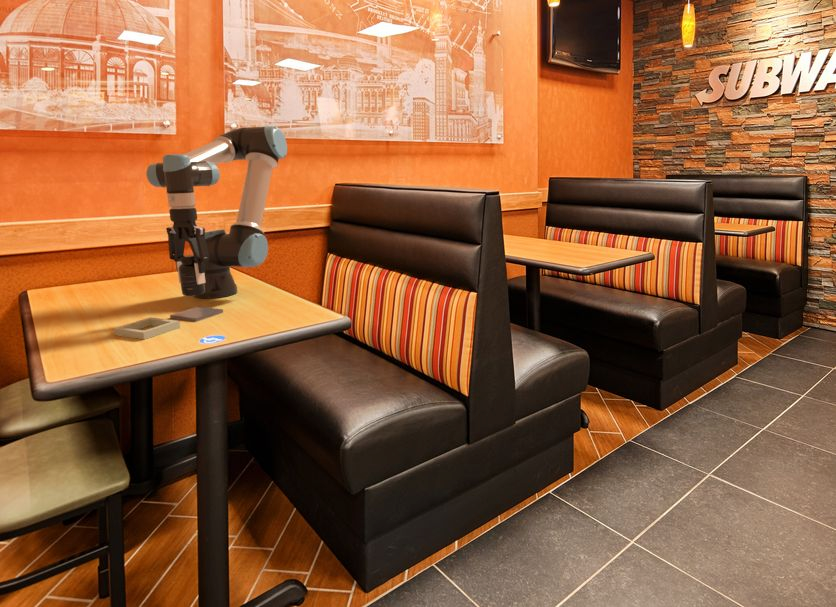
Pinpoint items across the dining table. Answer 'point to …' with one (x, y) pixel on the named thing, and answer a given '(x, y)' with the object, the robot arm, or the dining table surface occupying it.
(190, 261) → the supplement bottle
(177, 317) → the slate coaster
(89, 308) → the dining table surface
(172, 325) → the frame
